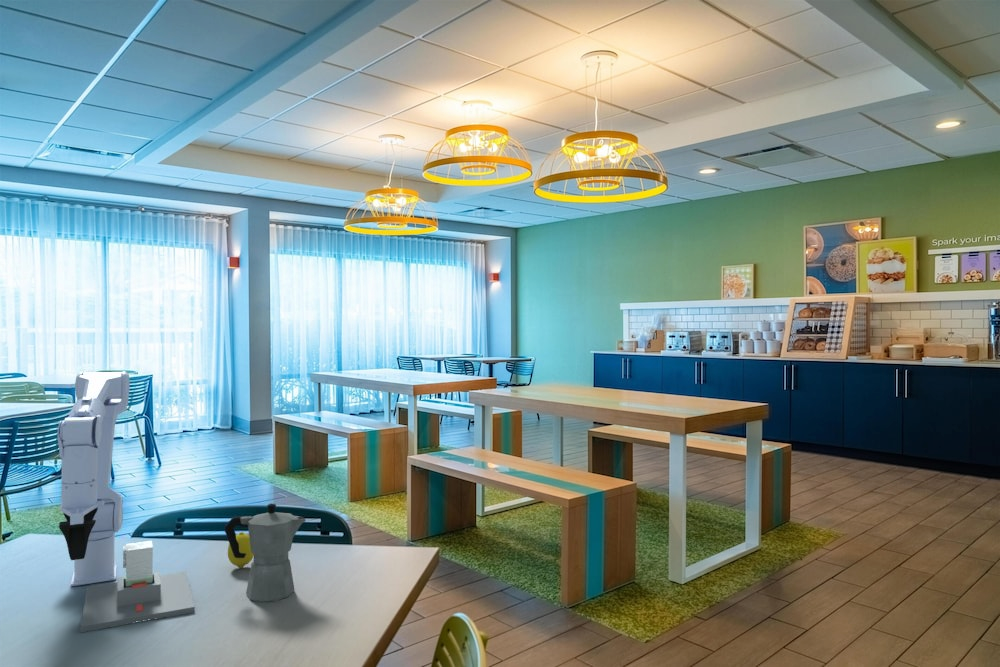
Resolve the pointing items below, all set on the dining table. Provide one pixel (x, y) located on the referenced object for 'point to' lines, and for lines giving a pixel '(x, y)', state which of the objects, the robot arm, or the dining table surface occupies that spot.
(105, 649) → the dining table surface
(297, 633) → the dining table surface
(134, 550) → the white rectangular block
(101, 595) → the jack base
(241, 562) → the lemon
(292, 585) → the coffeepot
